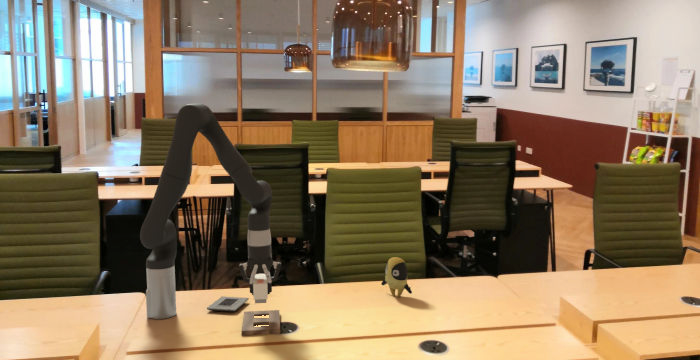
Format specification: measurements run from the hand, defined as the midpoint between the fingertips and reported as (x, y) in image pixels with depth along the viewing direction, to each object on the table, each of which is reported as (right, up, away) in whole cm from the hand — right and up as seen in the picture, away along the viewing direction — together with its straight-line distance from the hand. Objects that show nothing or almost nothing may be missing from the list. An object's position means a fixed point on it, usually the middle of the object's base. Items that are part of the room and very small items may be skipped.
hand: (261, 293), depth 196 cm
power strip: (0, -1, 0) cm, 1 cm away
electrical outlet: (-14, -9, +19) cm, 25 cm away
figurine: (+47, -7, +30) cm, 56 cm away
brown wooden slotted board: (0, -10, +1) cm, 10 cm away
